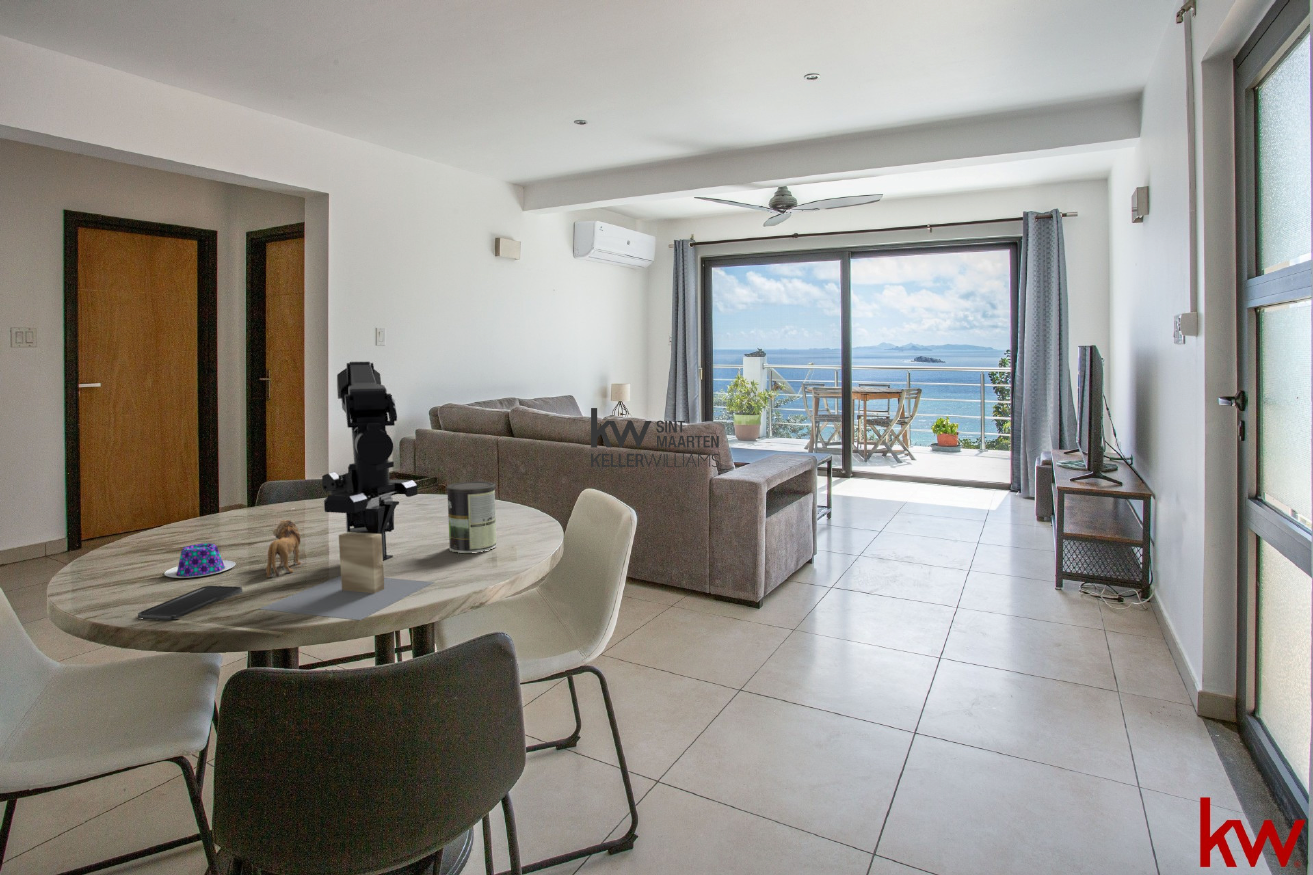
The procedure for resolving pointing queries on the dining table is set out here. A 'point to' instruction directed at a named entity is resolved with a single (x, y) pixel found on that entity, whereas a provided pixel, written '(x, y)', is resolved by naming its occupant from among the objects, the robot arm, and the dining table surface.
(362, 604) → the rubber mat
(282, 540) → the lion figurine
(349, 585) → the maple tile
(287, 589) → the dining table surface
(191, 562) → the purple patterned hat
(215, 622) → the dining table surface
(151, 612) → the phone
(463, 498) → the coffee can
